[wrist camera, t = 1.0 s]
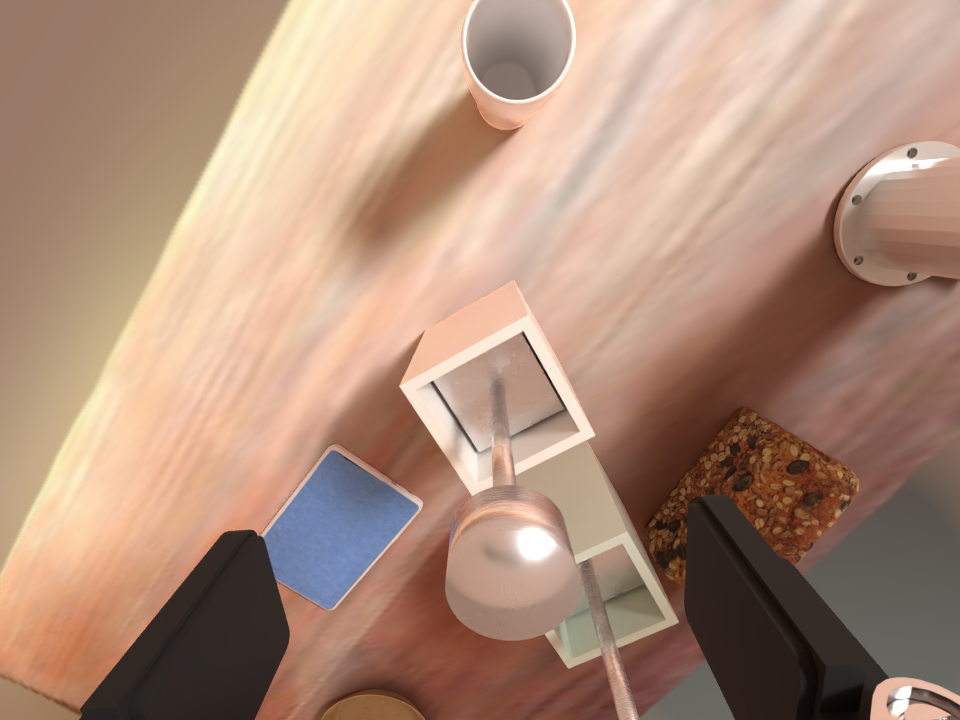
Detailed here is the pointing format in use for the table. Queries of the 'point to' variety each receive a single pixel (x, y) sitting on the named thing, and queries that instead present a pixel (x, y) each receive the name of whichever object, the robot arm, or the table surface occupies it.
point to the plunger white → (507, 505)
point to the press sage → (598, 551)
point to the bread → (757, 490)
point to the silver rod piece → (597, 585)
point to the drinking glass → (516, 56)
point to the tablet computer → (336, 527)
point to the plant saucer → (373, 707)
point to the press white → (467, 340)
